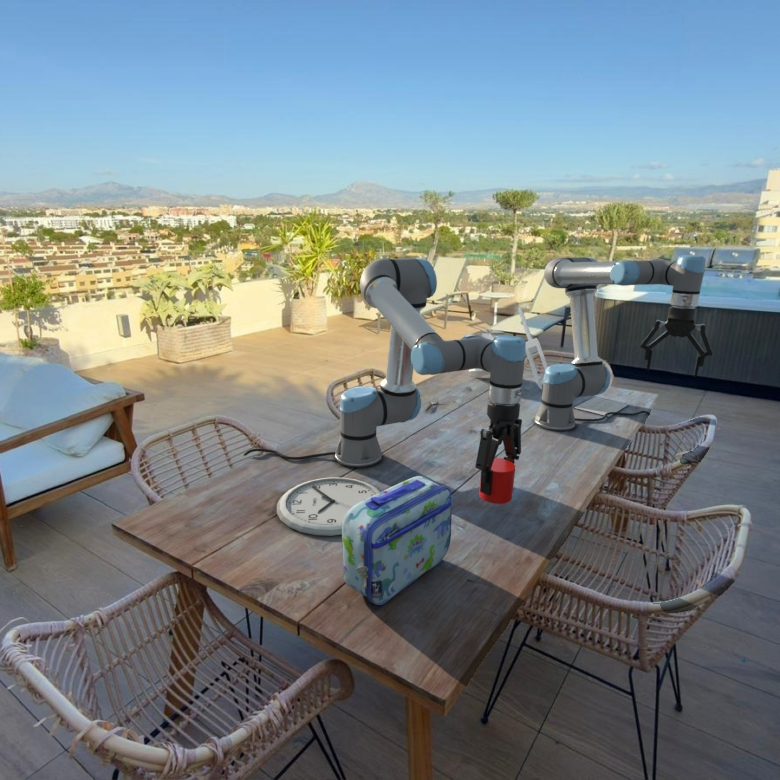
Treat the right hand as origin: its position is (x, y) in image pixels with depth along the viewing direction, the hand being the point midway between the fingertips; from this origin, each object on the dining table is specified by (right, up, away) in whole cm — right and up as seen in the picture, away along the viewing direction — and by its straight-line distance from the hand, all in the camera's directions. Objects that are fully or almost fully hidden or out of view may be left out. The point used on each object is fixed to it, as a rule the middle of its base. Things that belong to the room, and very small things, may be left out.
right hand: (671, 373), depth 168 cm
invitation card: (+1, -13, +58) cm, 59 cm away
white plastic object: (-34, -2, +90) cm, 96 cm away
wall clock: (-106, -37, -26) cm, 116 cm away
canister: (-64, -32, -37) cm, 81 cm away
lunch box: (-89, -46, -54) cm, 114 cm away
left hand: (-64, -30, -38) cm, 80 cm away
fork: (-73, -13, +54) cm, 92 cm away
